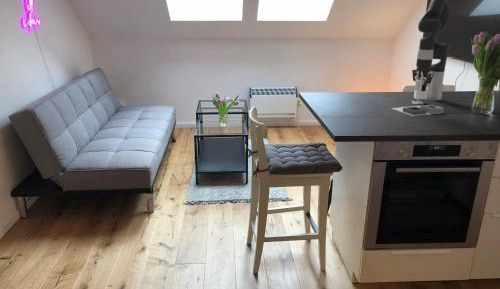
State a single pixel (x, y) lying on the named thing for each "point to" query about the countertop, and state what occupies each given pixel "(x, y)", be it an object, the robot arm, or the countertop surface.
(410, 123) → the countertop surface
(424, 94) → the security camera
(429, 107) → the circuit board
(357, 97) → the countertop surface
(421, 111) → the header socket
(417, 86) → the plug
